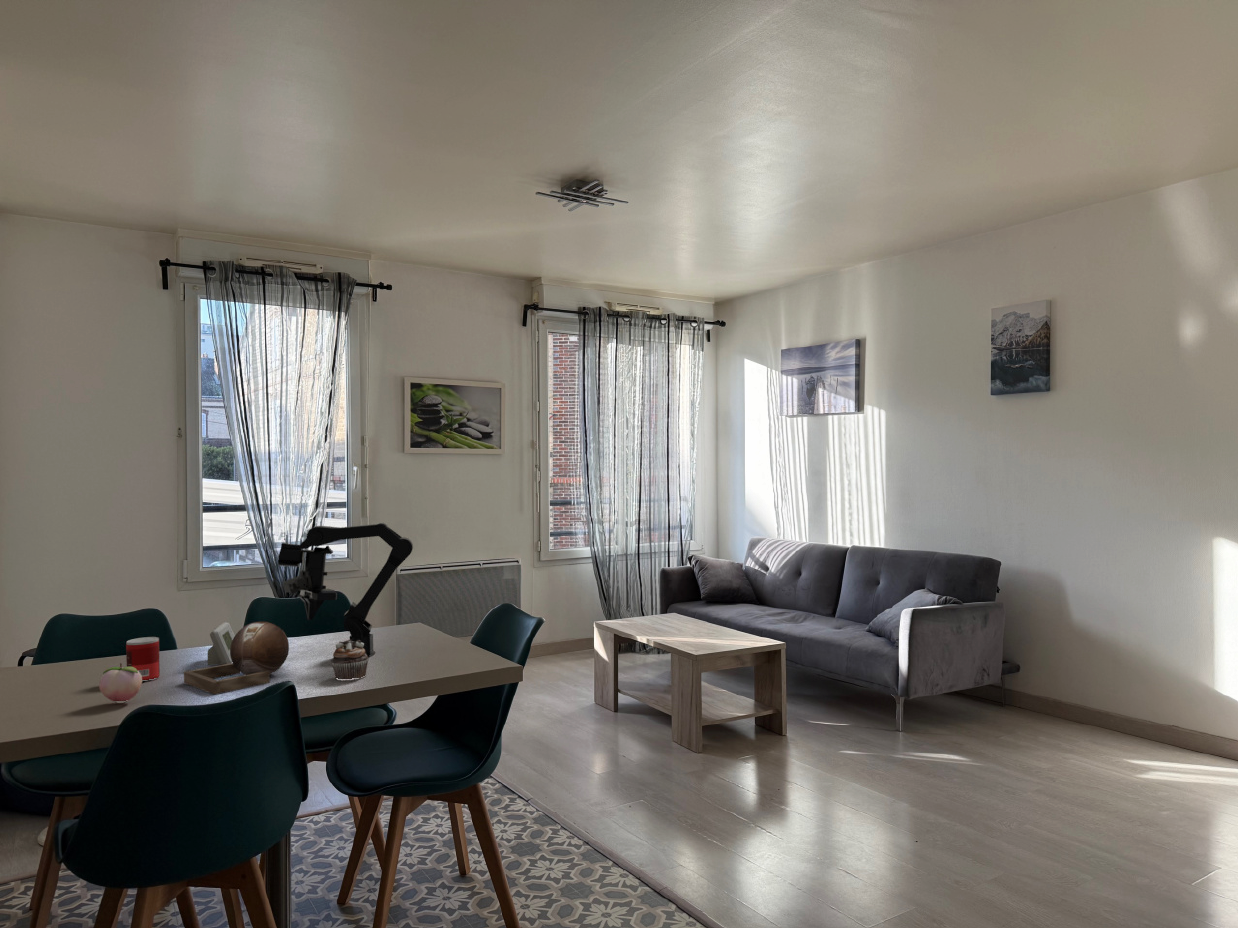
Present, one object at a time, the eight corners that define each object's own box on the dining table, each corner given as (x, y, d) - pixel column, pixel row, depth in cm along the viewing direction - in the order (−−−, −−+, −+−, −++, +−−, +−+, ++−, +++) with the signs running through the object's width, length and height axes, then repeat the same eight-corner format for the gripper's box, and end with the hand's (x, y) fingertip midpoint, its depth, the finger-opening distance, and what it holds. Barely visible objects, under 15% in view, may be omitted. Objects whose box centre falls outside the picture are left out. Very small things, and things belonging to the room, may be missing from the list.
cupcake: (324, 680, 231) (323, 643, 231) (348, 672, 240) (347, 636, 240) (353, 683, 227) (352, 645, 227) (376, 674, 236) (375, 638, 236)
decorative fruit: (150, 698, 217) (149, 658, 217) (132, 707, 208) (131, 665, 208) (112, 699, 216) (111, 659, 216) (93, 708, 208) (92, 667, 208)
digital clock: (228, 666, 250) (227, 630, 250) (197, 667, 250) (196, 631, 250) (251, 654, 266) (250, 620, 266) (221, 655, 266) (220, 621, 266)
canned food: (166, 676, 239) (165, 637, 239) (141, 684, 232) (140, 643, 232) (145, 675, 242) (144, 636, 242) (120, 682, 234) (119, 641, 234)
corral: (237, 672, 242) (237, 661, 242) (269, 682, 230) (269, 671, 230) (184, 683, 232) (183, 671, 232) (214, 694, 219) (214, 682, 219)
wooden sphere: (224, 684, 229) (223, 628, 229) (237, 671, 243) (236, 618, 243) (284, 680, 232) (283, 625, 232) (293, 668, 246) (292, 615, 246)
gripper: (274, 564, 259) (269, 616, 258) (304, 572, 246) (299, 626, 246) (309, 563, 267) (304, 614, 266) (340, 571, 254) (335, 624, 254)
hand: (309, 619), depth 258 cm, fingers closed
